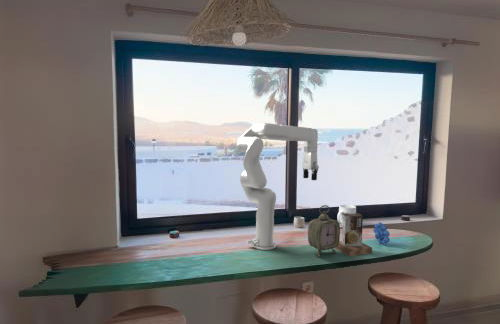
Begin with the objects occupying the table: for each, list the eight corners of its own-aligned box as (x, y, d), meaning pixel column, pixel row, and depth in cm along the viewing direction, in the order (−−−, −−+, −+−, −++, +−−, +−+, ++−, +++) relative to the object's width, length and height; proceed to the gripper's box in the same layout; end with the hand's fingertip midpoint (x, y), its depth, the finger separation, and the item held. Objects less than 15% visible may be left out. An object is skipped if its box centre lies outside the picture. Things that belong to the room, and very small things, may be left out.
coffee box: (358, 242, 182) (360, 213, 181) (362, 246, 176) (363, 215, 174) (341, 242, 182) (342, 212, 181) (344, 246, 176) (345, 215, 175)
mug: (344, 229, 219) (345, 209, 218) (331, 225, 228) (331, 206, 227) (358, 226, 227) (359, 206, 226) (345, 222, 236) (346, 204, 235)
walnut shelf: (348, 256, 170) (348, 250, 170) (333, 247, 183) (333, 241, 183) (371, 253, 175) (372, 247, 175) (355, 244, 188) (355, 239, 188)
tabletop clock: (318, 259, 166) (319, 208, 164) (305, 253, 173) (307, 204, 171) (339, 253, 173) (340, 205, 171) (326, 248, 181) (327, 202, 179)
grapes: (367, 241, 194) (368, 221, 193) (377, 240, 196) (378, 220, 195) (382, 248, 183) (383, 226, 182) (392, 246, 185) (393, 225, 185)
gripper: (298, 149, 206) (297, 177, 207) (312, 150, 190) (311, 181, 191) (309, 149, 208) (308, 177, 210) (324, 150, 192) (323, 180, 194)
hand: (309, 179), depth 200 cm, fingers open, 9 cm apart
